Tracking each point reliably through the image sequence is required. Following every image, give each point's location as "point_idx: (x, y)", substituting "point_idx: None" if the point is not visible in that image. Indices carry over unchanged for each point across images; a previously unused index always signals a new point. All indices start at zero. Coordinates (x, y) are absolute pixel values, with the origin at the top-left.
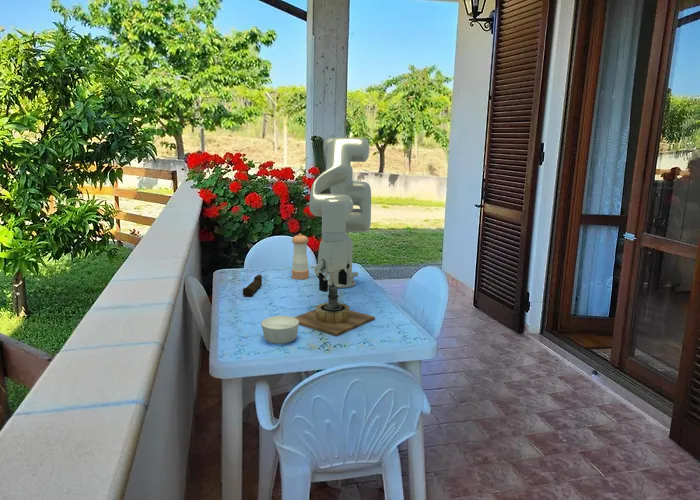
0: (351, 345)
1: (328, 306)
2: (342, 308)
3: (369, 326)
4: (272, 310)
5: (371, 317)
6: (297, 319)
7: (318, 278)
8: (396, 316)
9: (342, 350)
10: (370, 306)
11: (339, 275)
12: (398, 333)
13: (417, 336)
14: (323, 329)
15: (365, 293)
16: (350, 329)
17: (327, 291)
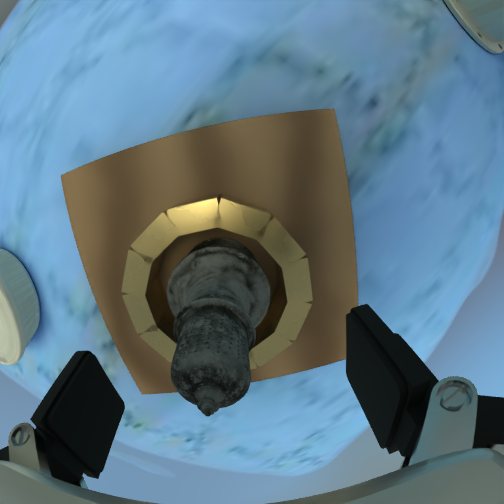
0: (152, 432)
1: (183, 303)
2: (283, 291)
3: (289, 384)
4: (103, 23)
5: (343, 355)
6: (17, 335)
7: (21, 431)
8: None
9: (121, 432)
10: (445, 228)
11: (383, 378)
12: (305, 438)
13: (319, 455)
14: (118, 348)
15: (495, 118)
16: None
17: (122, 405)
